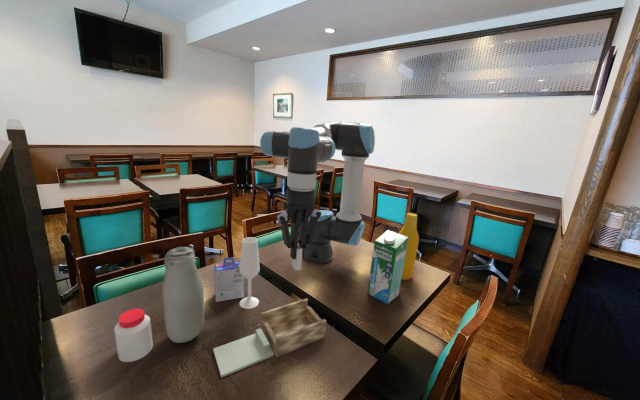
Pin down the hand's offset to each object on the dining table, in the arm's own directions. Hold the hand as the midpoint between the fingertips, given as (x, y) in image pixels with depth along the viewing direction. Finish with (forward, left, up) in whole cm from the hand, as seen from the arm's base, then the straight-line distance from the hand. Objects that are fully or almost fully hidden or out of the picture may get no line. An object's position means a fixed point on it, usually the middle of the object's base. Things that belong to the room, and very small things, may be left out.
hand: (296, 267), depth 76 cm
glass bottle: (+28, -13, -23) cm, 38 cm away
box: (0, 0, -22) cm, 22 cm away
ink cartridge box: (+12, -27, -23) cm, 37 cm away
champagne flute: (+7, -20, -22) cm, 31 cm away
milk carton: (-41, -2, -23) cm, 47 cm away
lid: (+15, +1, -23) cm, 28 cm away
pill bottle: (+40, -14, -23) cm, 48 cm away
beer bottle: (-60, -9, -23) cm, 64 cm away
